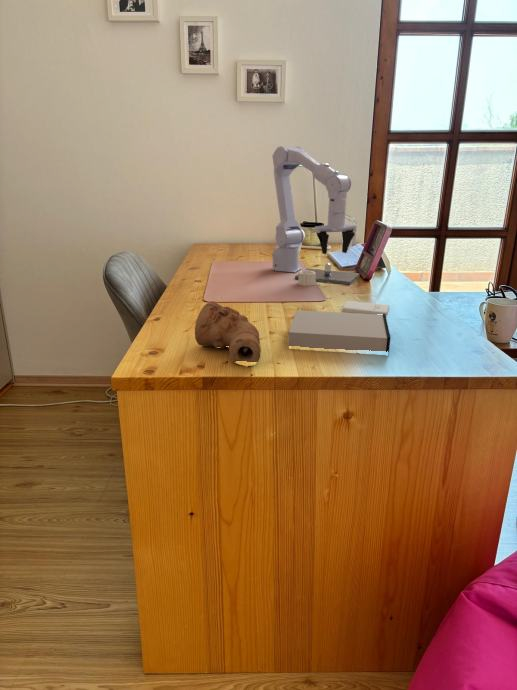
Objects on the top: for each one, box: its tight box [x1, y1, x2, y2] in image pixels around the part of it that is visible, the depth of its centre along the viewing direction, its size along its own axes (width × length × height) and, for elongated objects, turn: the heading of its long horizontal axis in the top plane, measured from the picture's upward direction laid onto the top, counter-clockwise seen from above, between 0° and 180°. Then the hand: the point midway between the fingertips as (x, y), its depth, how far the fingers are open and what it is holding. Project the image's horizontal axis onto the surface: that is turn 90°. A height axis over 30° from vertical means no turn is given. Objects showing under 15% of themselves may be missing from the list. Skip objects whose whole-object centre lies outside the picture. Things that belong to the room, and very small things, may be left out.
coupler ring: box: [297, 270, 316, 287], centre depth 173 cm, size 6×6×4 cm
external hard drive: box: [342, 300, 390, 316], centre depth 146 cm, size 2×8×12 cm
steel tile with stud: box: [294, 262, 360, 285], centre depth 182 cm, size 20×14×5 cm
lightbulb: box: [299, 229, 306, 253], centre depth 224 cm, size 6×6×11 cm
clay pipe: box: [194, 301, 262, 363], centre depth 113 cm, size 19×11×15 cm
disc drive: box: [287, 309, 391, 353], centre depth 121 cm, size 18×22×5 cm
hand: (334, 253), depth 175 cm, fingers open, 7 cm apart
